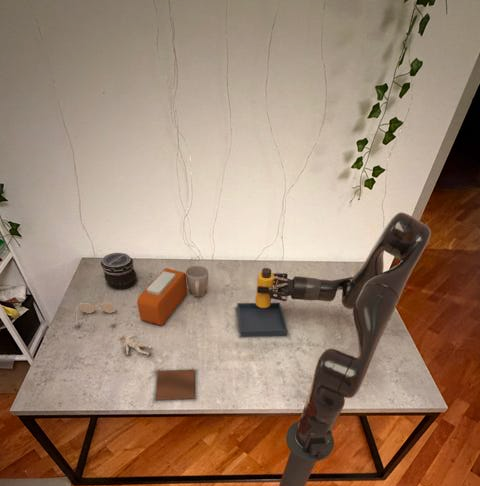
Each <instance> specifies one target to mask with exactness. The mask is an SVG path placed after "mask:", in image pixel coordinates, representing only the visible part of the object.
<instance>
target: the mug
mask: <svg viewBox="0 0 480 486" xmlns="http://www.w3.org/2000/svg"><path fill="white" fill-rule="evenodd" d="M185 274H186V281H187V287H188V288H189V290H190V292H191V294H192V296H193V297H202V296H204V295H205V293H206V290H207V288H208V285H209V270H208V269H207V268H206V266H202V265H191V266H189V267H188V268H187V269H186V271H185Z"/></svg>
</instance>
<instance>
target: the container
mask: <svg viewBox="0 0 480 486" xmlns="http://www.w3.org/2000/svg"><path fill="white" fill-rule="evenodd" d="M100 266H101V268H102V271H103V273H104V280H105V282H106V283H107V284H108V285H109V287H110V288H112V289H115V290H125V289H129V288H131V287H133V286H134V285H135V284H136V281H137V280H136V277H137V273H136V271H135V269H134V267H135V266H134V259H133V258H132V257H131V256H130V255H129V254H128V253H123V252H112V253H108V254H106V255H105V256H103V257H102V259H101V262H100Z"/></svg>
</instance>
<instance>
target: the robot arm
mask: <svg viewBox="0 0 480 486" xmlns="http://www.w3.org/2000/svg"><path fill="white" fill-rule="evenodd" d="M431 235H432V230H431V227H429V226H428V225H427V224H426V223H424V222H422V221H420V220H419V219H416V218H415V217H413V216H412V215H410V214H408V213H405V212H402V211H401V212H397V213H396V214H395V215H394V216H393V217H392V218H391V219H390V220H389V221H388V222H387V224H386V225H385V227H384V229H383V230H382V232H381V233H380V235H379V236H378V238H377V240H376V241H375V243H374V245H373V246H372V248H371V249H370V251H369V253H368V255H367V257H366V259H365V260H364V261H363V263H362V265H361V266H360V267H359V269H357V271H356V272H355V273H354V275H353V276H349V277H345V278H338V279H331V280H330V279H323V278H322V279H320V278H315V277H307V276H298V275H297V276H296V275H295V276H293V278H289V277H288V273H283V272H282V273H272V274H273V275H274V283H273V287H269V288H268V287H263V286H258V289H257V288H256V292H258V293H263V294H268V295H269V296H270V298H271V300H277V301H280V302H281V301H282V302H287V300H288V297H289V296H290V298H291V299H292V300H299V301H300V300H301V301H319V302H332V301H334V300H335V298H336V295H337V293H338V291H341V304H342V306H343V307H344V308H346V309H348V310H352V318H353V324H354V327H355V332H356V337H357V343H358V351H357V356H353V355H351V354H348V353H346V352H343V351H341V350H338V349H335V348H330V347H329V348H327V349H326V350H324V351H323V353H322V354H321V355H320V356H319V358H318V361H317V363H316V365H315V369H314V372H313V377H312V381H311V384H310V388H309V391H308V395H307V398H306V401H305V404H304V405H303V406H304V407H303V410H302V412H301V415H300V418H299V420H298V421H299V425H298V428H297V430H296V433H295V441H296V443H297V445H298V446H299V447H300V448H301V449H302V450H303V452H304V453H309V452H310V454H311V455H316V457H317V458H318V459H320V457H321V455H325V454H326V452H327V450H328V448H327V444H328V442H329V440H330V438H331V436H332V435H333V432H332V431H333V429H334V427H335V425H336V423H337V422H338V419H339V417H340V415H341V413H342V411H343V409H344V407H345V403H346V399H352V398H354V397H355V396H356V395H357V394H358V392H359V390H360V389H361V387H362V385H363V383H364V380H365V379H366V376H367V373H368V370H369V368H370V365H371V363H372V360H373V357H374V355H375V353H376V351H377V347H378V345H379V342H380V340H381V338H382V336H383V334H384V332H385V330H386V328H387V326H388V325H389V322H390V320H391V318H392V316H393V314H394V313H395V310H396V308H397V306H398V304H399V301H400V299H401V296H402V295H403V292H404V289H405V287H406V286H407V283H408V280H409V278H410V276H411V274H412V272H413V270H414V269H415V267H416V265H417V263H418V261H419V260H420V258H421V256H422V254H423V252H424V251H425V250H426V247H427V246H428V243H429V241H430V239H431ZM384 253H388V254H389V255H391V256H393V257H395V258H396V259H398V260H399V261H400V262H399V263H398V264H397V265H395V266H393V267H392V268H390V269H388V270H385V271H384V268H385V267H384V262H385V261H384Z"/></svg>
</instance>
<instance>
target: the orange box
mask: <svg viewBox="0 0 480 486" xmlns="http://www.w3.org/2000/svg"><path fill="white" fill-rule="evenodd" d="M187 294H188V283H187V278H186V272H184V271H179V270H176V269H172V268H167V267H166V268H164V269H163V270H162V271H161V272H160V273H159V274H158V275H157V276H156V277H155V278H154V280H152V282H151V283H150V284H149V285H148V286H147V287H146V288H145V289H144V290H143V291H142V292H141V294H139V295H138V297H137V300H136V303H137V304H136V305H137V309H138V313H139V317H140V320H141V321H143V322H147V323H151V324H154V325H157V326H163V325H164V324H165V323H166V322H167V321H168V320H169V318H170V317H171V315H172V314H173V313H174V311H175V310H176V309H177V308H178V306H179V305H180V304H181V302H182V301H183V300H184V299H185V297H186V296H187Z"/></svg>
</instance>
